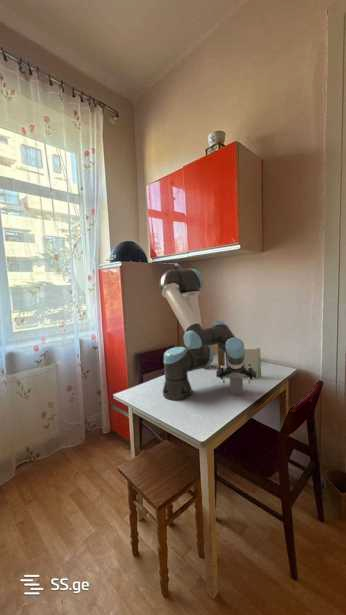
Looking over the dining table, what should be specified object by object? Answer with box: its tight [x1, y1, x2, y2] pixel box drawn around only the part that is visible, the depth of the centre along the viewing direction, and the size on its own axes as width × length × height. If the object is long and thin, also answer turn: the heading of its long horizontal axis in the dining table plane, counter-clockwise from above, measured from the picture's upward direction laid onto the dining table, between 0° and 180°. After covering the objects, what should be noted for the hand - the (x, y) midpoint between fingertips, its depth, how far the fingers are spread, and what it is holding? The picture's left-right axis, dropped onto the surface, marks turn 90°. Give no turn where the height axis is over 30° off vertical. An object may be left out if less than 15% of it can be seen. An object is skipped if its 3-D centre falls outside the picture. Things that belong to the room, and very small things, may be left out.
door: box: [225, 347, 262, 377], centre depth 144 cm, size 19×2×16 cm, turn 77°
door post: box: [216, 344, 227, 379], centre depth 147 cm, size 5×5×23 cm
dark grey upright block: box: [229, 373, 244, 396], centre depth 125 cm, size 6×6×9 cm
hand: (236, 380), depth 128 cm, fingers open, 12 cm apart
